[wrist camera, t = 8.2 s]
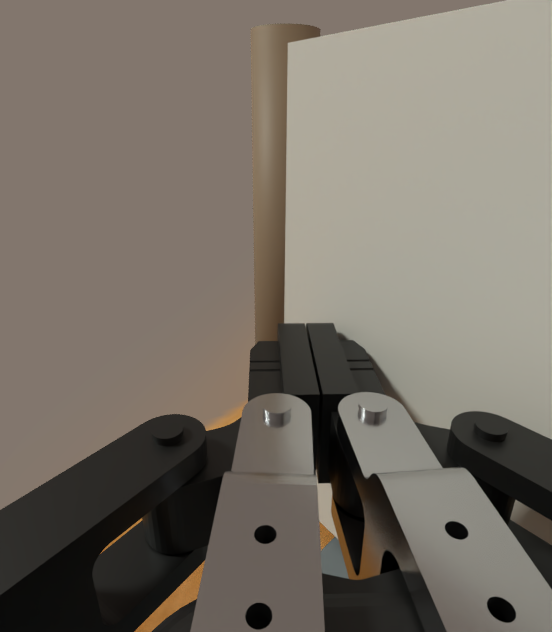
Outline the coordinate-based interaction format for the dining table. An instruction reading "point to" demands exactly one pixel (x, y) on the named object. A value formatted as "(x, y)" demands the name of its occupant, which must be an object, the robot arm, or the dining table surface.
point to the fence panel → (414, 206)
